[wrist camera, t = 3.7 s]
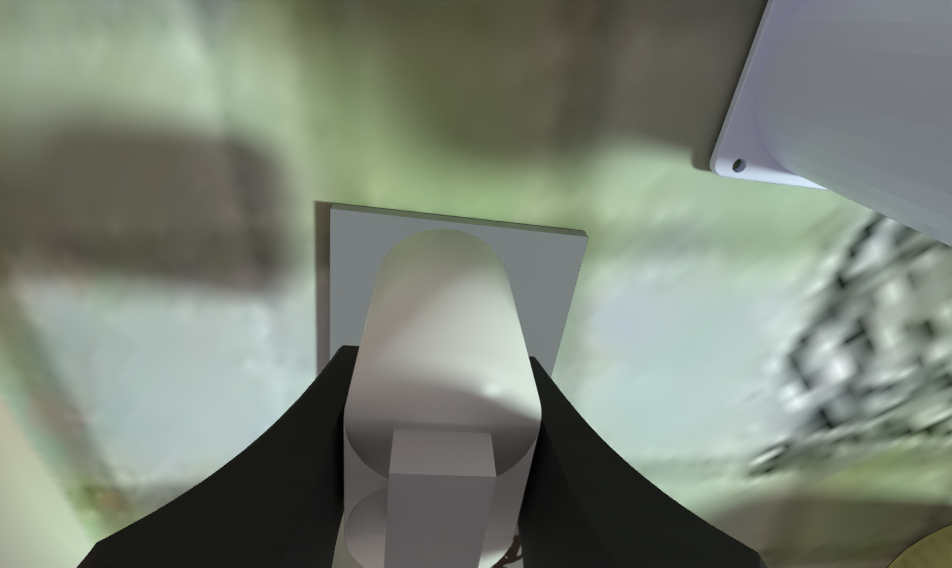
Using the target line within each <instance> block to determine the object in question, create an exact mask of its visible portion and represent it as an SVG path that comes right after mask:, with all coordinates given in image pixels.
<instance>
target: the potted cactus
mask: <svg viewBox="0 0 952 568" xmlns="http://www.w3.org/2000/svg"><path fill="white" fill-rule="evenodd" d="M888 568H952V525H949V526H947V527H944V528H942V529H940V530H938V531H936V532H934V533H932V534H930V535H928V536H926V537H924V538H923V539H921V540H919V541H918V542H916V543H915V544H913V545H912V546H910V547H909V548H908V549H906V550H905V551H904V552H903V553H901V554H900V555H899V556H898V557H897V558H896V559H895V560H894V561H893V562H892V563H891V564H890V566H889V567H888Z"/></svg>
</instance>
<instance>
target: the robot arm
mask: <svg viewBox="0 0 952 568" xmlns="http://www.w3.org/2000/svg"><path fill="white" fill-rule="evenodd" d="M738 159H741V164H740V165H739V167H738V168H736V169H732V167H733V164H734V162H735V161H736V160H738ZM709 165H710V169H711V171H712V172H713V173H715V174H716V175H718V176H721V177H728V178H736V179H743V180H751V181H759V182H767V183H774V184H782V185H790V186H797V187H805V188H813V189H821V190H828V191H833V192H835V193H837V194H839V195H841V196H844V197H846V198H848V199H850V200H852V201H854V202H856V203H859V204H861V205H863V206H865V207H867V208H869V209H872V210H874V211H876V212H878V213H880V214H882V215H885V216H887V217H889V218H891V219H893V220H895V221H897V222H900V223H902V224H904V225H906V226H908V227H910V228H913V229H915V230H917V231H919V232H921V233H923V234H925V235H928V236H930V237H932V238H934V239H936V240H938V241H941V242H943V243H945V244H947V245H949V246H951V247H952V0H768V2H767V5H766V8H765V11H764V13H763V16H762V19H761V22H760V24H759V27H758V30H757V33H756V35H755V38H754V41H753V44H752V46H751V49H750V52H749V55H748V57H747V60H746V63H745V66H744V69H743V71H742V74H741V77H740V80H739V82H738V85H737V88H736V91H735V93H734V96H733V99H732V102H731V104H730V107H729V110H728V113H727V115H726V118H725V121H724V124H723V126H722V129H721V132H720V135H719V137H718V140H717V143H716V146H715V148H714V151H713V154H712V157H711V159H710V164H709ZM359 347H360V346H350V345H343V346H341V347H340V348H339V349H338V350H337V352H336V353H335V355H334V356H333V357H332V359H331V360H330V362H329V363H328V364H327V366H326V367H325V368H324V369H323V371H322V372H321V373H320V374H319V376H318V377H317V378H316V379H315V380H314V382H313V383H312V384H311V385H310V386H309V387H308V388H307V390H306V391H305V392H304V393H303V394H302V395H301V397H300V398H299V399H298V400H297V401H296V402H295V403H294V404H293V405H292V406H291V407H290V408H289V409H288V410H287V411H286V412H285V413H284V414H283V415H282V416H281V417H280V418H279V419H278V420H277V421H276V422H275V423H274V424H273V425H272V426H271V427H270V428H269V429H268V430H267V431H266V432H264V433H263V434H262V435H261V436H260V437H259V438H258V439H257V440H255V441H254V442H253V443H252V444H251V445H249V446H248V447H247V448H246V449H245V450H244V451H242V452H241V453H240V454H238V455H237V456H236V457H235V458H233V459H232V460H231V461H229V462H228V463H227V464H226V465H224V466H223V467H222V468H220V469H219V470H218V471H216V472H215V473H213V474H212V475H211V476H209V477H208V478H206V479H205V480H204V481H202V482H201V483H199V484H198V485H196V486H194V487H193V488H191V489H190V490H188V491H187V492H185V493H184V494H182V495H181V496H179V497H178V498H176V499H174V500H173V501H171V502H170V503H168V504H166V505H165V506H163V507H161V508H160V509H158V510H156V511H154V512H153V513H151V514H149V515H147V516H146V517H144V518H142V519H140V520H138V521H136V522H134V523H133V524H131V525H129V526H127V527H125V528H123V529H122V530H120V531H118V532H116V533H114V534H112V535H111V536H109V537H107V538H105V539H103V540H101V541H99V542H97V543H96V544H95V545H94V547H93V548H92V549H91V551H90V552H89V553H88V555H87V556H86V557H85V558H84V559H83V561H82V562H81V563H80V564H79V565H78V567H77V568H331V567H332V561H333V556H334V550H335V545H336V540H337V536H338V531H339V527H340V523H341V519H342V516H343V512H344V410H345V405H346V401H347V397H348V393H349V388H350V384H351V380H352V376H353V372H354V368H355V363H356V359H357V355H358V351H359ZM528 357H529V361H530V365H531V368H532V372H533V376H534V380H535V384H536V388H537V392H538V396H539V400H540V405H541V423H540V429H539V433H538V437H537V441H536V446H535V450H534V454H533V458H532V462H531V466H530V471H529V475H528V479H527V483H526V487H525V491H524V495H523V500H522V504H521V508H520V512H519V516H518V520H517V525H518V530H519V536H520V543H521V549H522V558H523V568H767V566H766V564H765V563H764V561H763V560H762V558H761V557H760V555H759V554H758V552H756V551H754V550H753V549H751V548H749V547H748V546H746V545H744V544H743V543H741V542H739V541H737V540H736V539H734V538H732V537H731V536H729V535H727V534H725V533H724V532H722V531H720V530H719V529H717V528H715V527H714V526H712V525H710V524H709V523H707V522H706V521H704V520H703V519H701V518H700V517H698V516H697V515H695V514H694V513H692V512H691V511H689V510H688V509H686V508H685V507H683V506H682V505H680V504H679V503H678V502H676V501H675V500H673V499H672V498H671V497H669V496H668V495H667V494H665V493H664V492H663V491H661V490H660V489H659V488H658V487H656V486H655V485H654V484H652V483H651V482H650V481H649V480H647V479H646V478H645V477H644V476H642V475H641V474H640V473H639V472H638V471H636V470H635V469H634V468H633V467H632V466H630V465H629V464H628V463H627V462H626V461H625V460H624V459H623V458H622V457H621V456H619V455H618V454H617V453H616V452H615V451H614V450H613V449H612V448H611V447H610V446H609V445H608V444H607V443H606V442H605V441H604V440H603V439H602V438H601V437H600V436H599V435H598V434H597V433H596V432H595V431H594V430H593V429H592V428H591V427H590V426H589V424H588V423H587V422H586V421H585V420H584V419H583V418H582V417H581V415H580V414H579V413H578V412H577V411H576V409H575V408H574V407H573V406H572V405H571V403H570V402H569V401H568V400H567V398H566V397H565V396H564V395H563V393H562V392H561V391H560V390H559V388H558V387H557V386H556V384H555V383H554V382H553V380H552V379H551V378H550V376H549V375H548V374H547V372H546V371H545V370H544V368H543V367H542V366H541V364H540V363H539V362H538V360H537V359H536V358H535V357H533V356H528Z"/></svg>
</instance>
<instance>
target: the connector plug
mask: <svg viewBox="0 0 952 568" xmlns="http://www.w3.org/2000/svg"><path fill="white" fill-rule="evenodd" d="M540 423H541V405H540V400H539V396H538V392H537V388H536V384H535V380H534V376H533V372H532V368H531V365H530V361H529V357H528V353H527V349H526V345H525V341H524V337H523V334H522V330H521V326H520V322H519V318H518V314H517V310H516V306H515V303H514V299H513V295H512V291H511V287H510V283H509V279H508V275H507V272H506V269H505V266H504V264H503V262H502V260H501V259H500V257H499V256H498V254H497V253H496V252H495V251H494V250H493V249H492V248H491V247H490V246H489V245H488V244H487V243H485V242H484V241H483V240H481V239H479V238H478V237H476V236H474V235H471V234H469V233H466V232H463V231H459V230H454V229H430V230H426V231H421V232H418V233H416V234H413V235H411V236H409V237H407V238H405V239H403V240H402V241H400V242H399V243H398V244H396V245H395V246H394V247H393V248H392V249H391V250H390V251H389V252H388V254H387V255H386V256H385V258H384V259H383V261H382V263H381V265H380V267H379V269H378V273H377V276H376V281H375V285H374V289H373V293H372V297H371V301H370V305H369V310H368V314H367V318H366V322H365V326H364V330H363V334H362V339H361V343H360V347H359V351H358V355H357V359H356V363H355V368H354V372H353V376H352V380H351V384H350V388H349V393H348V397H347V401H346V405H345V410H344V536H345V542H346V545H347V548H348V550H349V552H350V554H351V555H352V557H353V558H354V559H355V560H356V561H357V562H358V563H359V564H360V565H361V566H362V567H364V568H490V567H491V566H493V565H494V564H495V563H497V562H498V561H499V560H500V559H501V558H502V557H503V556H504V554H505V553H506V552H507V550H508V549H509V547H510V545H511V543H512V540H513V537H514V533H515V529H516V524H517V520H518V516H519V512H520V508H521V504H522V500H523V495H524V491H525V487H526V483H527V479H528V475H529V471H530V466H531V462H532V458H533V454H534V450H535V446H536V441H537V437H538V433H539V429H540Z"/></svg>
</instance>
